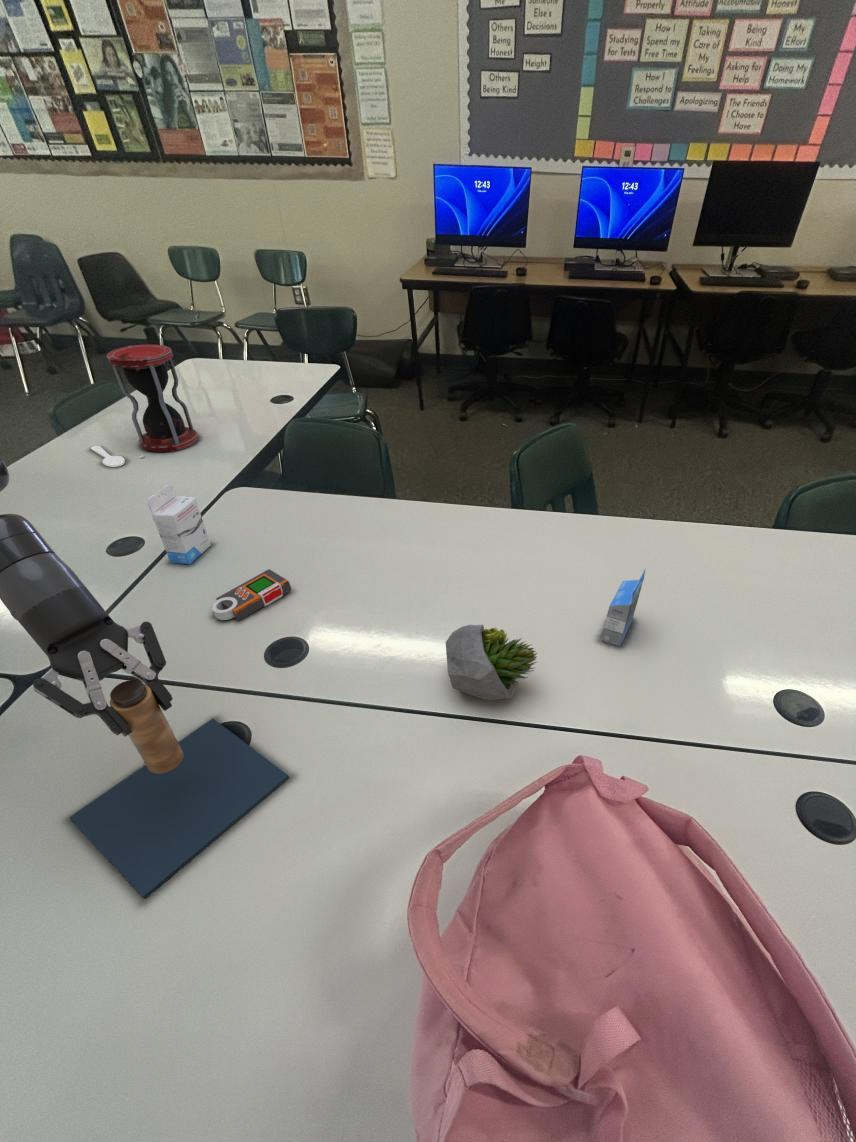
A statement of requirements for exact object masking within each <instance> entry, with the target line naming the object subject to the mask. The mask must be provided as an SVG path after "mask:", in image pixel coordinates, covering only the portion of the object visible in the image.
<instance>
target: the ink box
mask: <svg viewBox="0 0 856 1142" xmlns="http://www.w3.org/2000/svg"><path fill="white" fill-rule="evenodd" d="M164 494H165V496H163V495H164ZM161 496H163V497H162V498H161V499H160V497H161ZM158 499H159V500H158ZM146 502H147V505H148V507H149V510H150V513H151V516H152V520H153V522H154V524H155V527H156V529H157V532H158V535H159V537H160V540H161V542H162V545H163V548H164V550H165V552H166V555H167V558H168V559H169V562H170V563H174V564H183V565H191V564H193V562H195V561H196V559H197V558H199V557H200V556H201V555H202V554H203V553H204V552H205V551H206V550H208V549H209V547H211V546H212V544H211V541H210V538H209V535H208V532H207V529H206V526H205V523H204V520H203V516H202V513H201V511H200V507H199V504H198V501H197V499H196V497H194V496H185V495H176V492H175V490H174V486H173V484H172V483H171V482H168V484H166V485H165V486H163V487H161V489H159V490H157V492H155V493H154V494H152V495H151V496H149V497H148V498H147V500H146Z"/></svg>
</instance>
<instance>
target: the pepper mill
mask: <svg viewBox="0 0 856 1142" xmlns="http://www.w3.org/2000/svg"><path fill="white" fill-rule="evenodd" d="M109 696H110V697H109V698H110V699H109V707H110V706H112V707H113V708H114V709H115V711H116V712H117V713H118V714H119V715H120V717H121V718H122V719H123V720H124V721H125V723H126V724H127V725H128V726H129V727H130V729H131V730H132V732H131V733H130V734H129V735H127V737H129V739H130V741H131V743H132V744H133V746H134V748H135V750H136V751H137V753H138V754H139V756H140V758H141V759H142V761H143V763H144V765H146V766H147V768H148V769H149V771H151V772H152V773H156V774H162V773H166V772H169V771H171V770H173V769H175V768H176V767H177V766H178V765H179V764H180V763H181V762H182V760H183V756H184V754H183V751H182V749H181V747H180V745H179V743H178V742H179V741H178V739H177V737H176V735H175V734H174V732H173V729H172V728H171V726H170V724H169V722H168V720H167V718H166V716H165V714H164V711H163V709H162V708H161V707H160V705H159V704H158V702H157V700H156V698H155V696H154V694H153V692H152V691H151V689H150V687H149V686H147V685H146V684H145V683H143V682H142V681H140V680H139V679H129V680H125V681H123V682H121V683H118V684H117V685H116V686H115V687H113V688H112V690H111V691H110V694H109Z"/></svg>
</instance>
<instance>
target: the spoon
mask: <svg viewBox="0 0 856 1142" xmlns="http://www.w3.org/2000/svg"><path fill="white" fill-rule="evenodd" d="M90 449H91V451H93V452H95V453H96V454H98V455H99V456H101V457H103V459H102V461H101V462H102V465H103V466H106V467H111V468H116V467H121V466H123V465H124V464H125V463H126V460H125V458H124V457H123V456H120V455H111V454H109V453H108V452H107V451H106V450H105V449H104V448H103V447H102V446H100V445H92V446H91V447H90Z"/></svg>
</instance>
